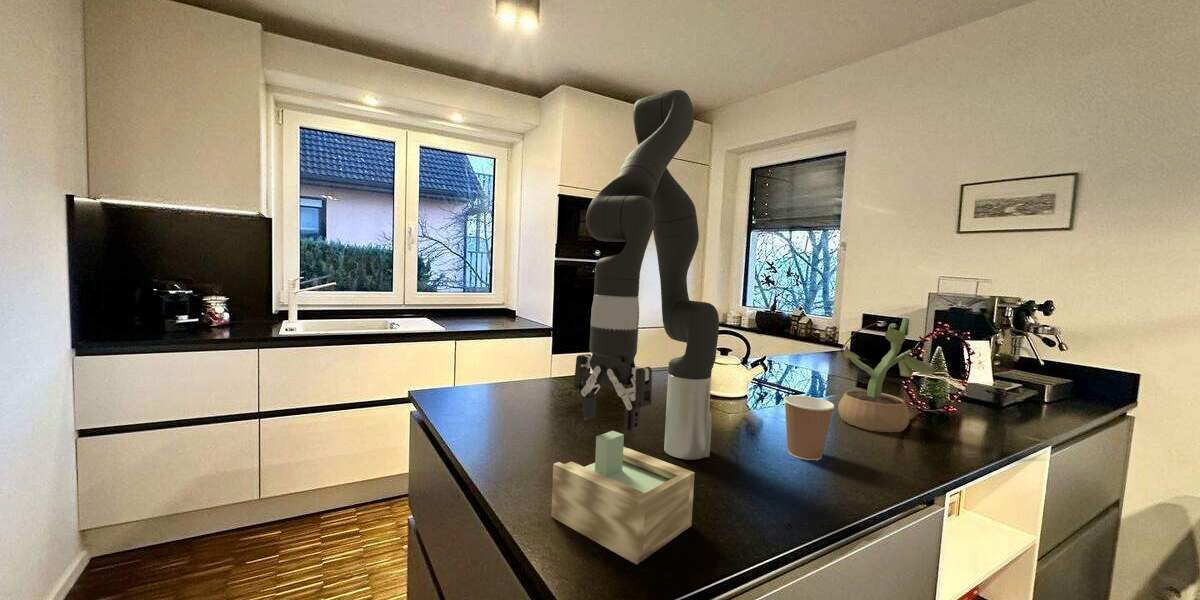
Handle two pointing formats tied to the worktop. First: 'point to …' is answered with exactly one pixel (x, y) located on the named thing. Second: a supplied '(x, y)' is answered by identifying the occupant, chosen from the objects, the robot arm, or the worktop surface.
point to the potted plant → (872, 404)
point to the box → (624, 506)
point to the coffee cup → (807, 426)
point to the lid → (621, 464)
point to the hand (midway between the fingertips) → (608, 425)
